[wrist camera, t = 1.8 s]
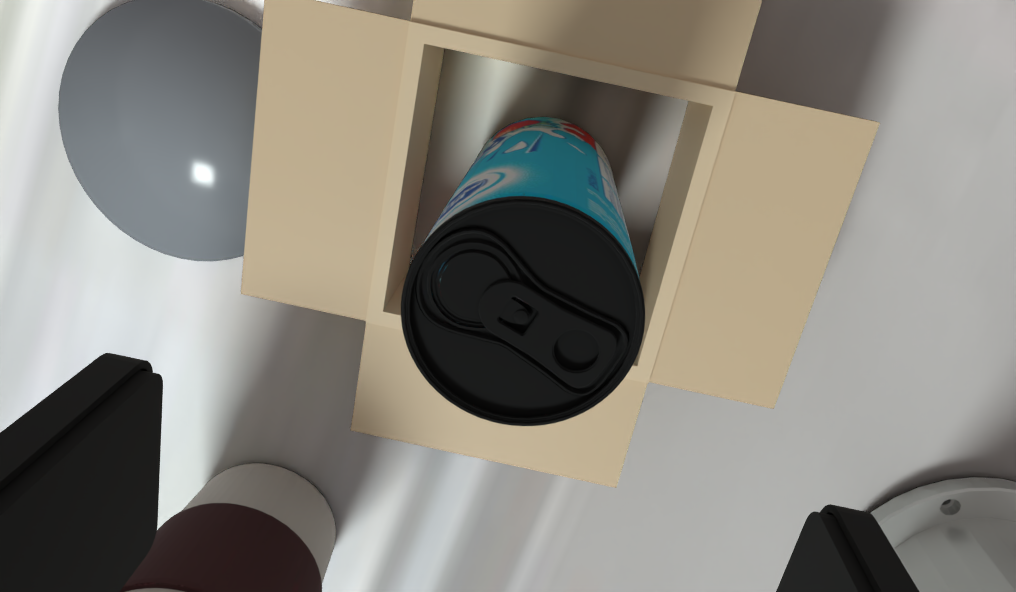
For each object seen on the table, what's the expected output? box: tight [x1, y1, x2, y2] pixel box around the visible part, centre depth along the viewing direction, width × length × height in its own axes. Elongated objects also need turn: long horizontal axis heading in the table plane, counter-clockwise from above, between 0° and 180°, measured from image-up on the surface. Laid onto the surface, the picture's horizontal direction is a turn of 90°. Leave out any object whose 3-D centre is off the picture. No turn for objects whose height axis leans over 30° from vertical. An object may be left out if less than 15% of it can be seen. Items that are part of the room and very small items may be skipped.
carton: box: [241, 0, 880, 488], centre depth 30 cm, size 21×21×5 cm
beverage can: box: [401, 117, 645, 426], centre depth 26 cm, size 6×6×15 cm
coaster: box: [58, 0, 262, 261], centre depth 33 cm, size 11×11×1 cm
